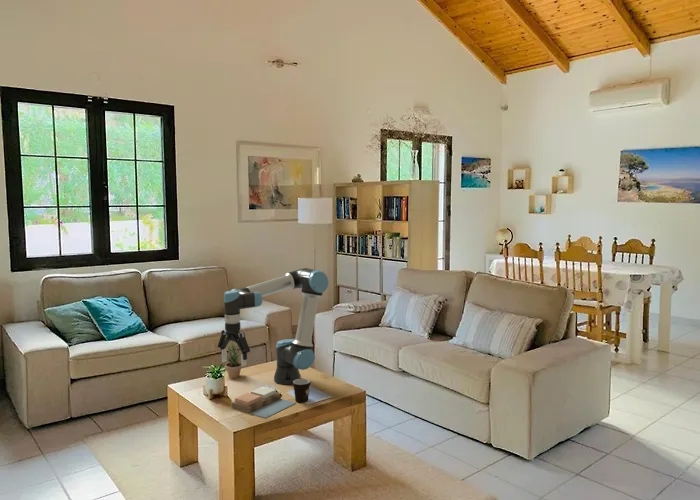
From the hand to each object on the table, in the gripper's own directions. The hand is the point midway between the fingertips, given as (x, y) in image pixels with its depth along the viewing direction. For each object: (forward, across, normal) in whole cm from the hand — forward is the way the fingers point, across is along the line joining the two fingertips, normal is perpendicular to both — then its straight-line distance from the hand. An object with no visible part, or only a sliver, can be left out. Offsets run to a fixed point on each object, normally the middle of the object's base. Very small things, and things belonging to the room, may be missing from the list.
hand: (234, 363), depth 272 cm
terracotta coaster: (+18, +9, 0) cm, 20 cm away
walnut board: (+21, +9, +5) cm, 23 cm away
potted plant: (+21, -30, +29) cm, 47 cm away
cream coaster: (+18, +9, +11) cm, 23 cm away
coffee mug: (+21, +27, +22) cm, 40 cm away
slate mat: (+21, +21, +5) cm, 30 cm away
